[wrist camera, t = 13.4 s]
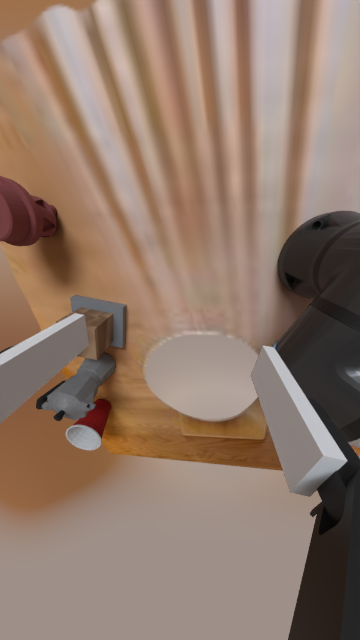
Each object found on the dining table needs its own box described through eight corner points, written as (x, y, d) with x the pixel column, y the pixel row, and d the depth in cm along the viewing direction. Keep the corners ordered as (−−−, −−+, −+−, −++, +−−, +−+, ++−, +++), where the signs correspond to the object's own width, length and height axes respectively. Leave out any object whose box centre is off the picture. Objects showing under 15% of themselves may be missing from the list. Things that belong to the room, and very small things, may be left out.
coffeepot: (117, 349, 48) (76, 404, 32) (125, 374, 52) (92, 434, 36) (70, 350, 50) (8, 403, 34) (81, 374, 54) (31, 431, 38)
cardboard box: (84, 334, 45) (61, 353, 37) (81, 307, 41) (55, 322, 34) (113, 340, 44) (96, 360, 37) (113, 313, 41) (93, 330, 33)
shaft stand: (126, 304, 42) (109, 319, 34) (125, 344, 47) (110, 364, 39) (75, 295, 42) (48, 307, 34) (80, 335, 47) (57, 353, 40)
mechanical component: (59, 186, 32) (75, 243, 36) (14, 191, 33) (35, 245, 38) (-14, 159, 21) (22, 245, 25) (-78, 167, 22) (-34, 248, 27)
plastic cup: (119, 398, 57) (101, 434, 47) (116, 416, 62) (99, 454, 51) (89, 389, 57) (63, 424, 46) (88, 409, 62) (65, 444, 51)
